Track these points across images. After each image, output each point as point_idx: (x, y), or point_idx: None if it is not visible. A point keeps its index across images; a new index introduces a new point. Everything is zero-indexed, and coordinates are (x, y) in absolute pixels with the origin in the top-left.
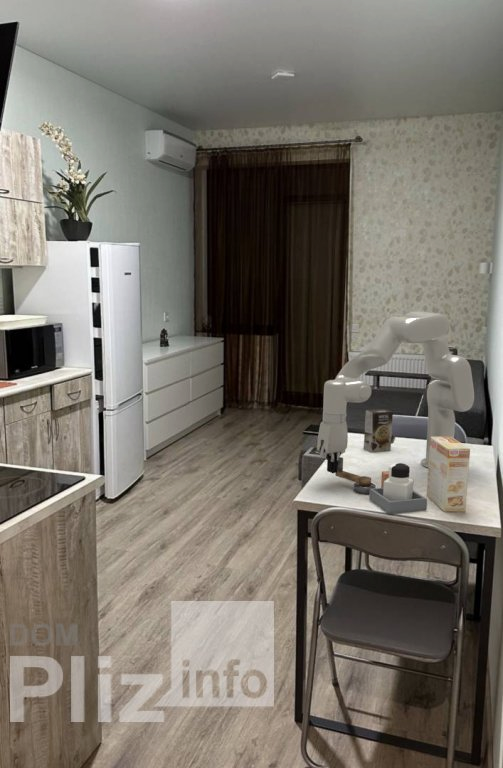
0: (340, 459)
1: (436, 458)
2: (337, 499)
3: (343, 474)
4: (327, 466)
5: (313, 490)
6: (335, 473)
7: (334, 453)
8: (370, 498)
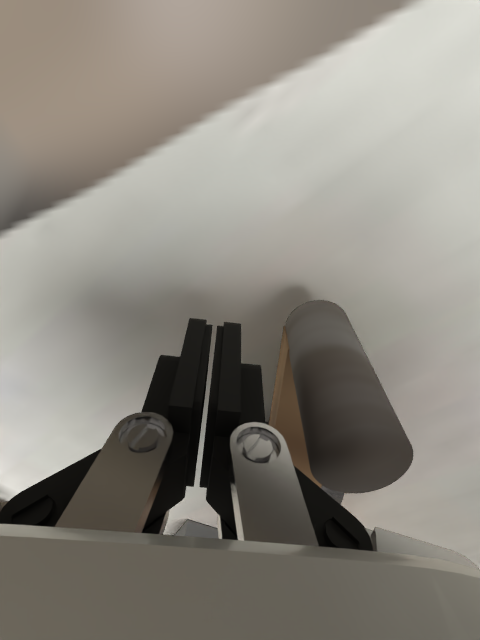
0: (324, 480)
1: None
2: (54, 448)
3: (277, 408)
4: (155, 372)
5: (17, 282)
6: (296, 319)
7: (282, 522)
8: (180, 535)
